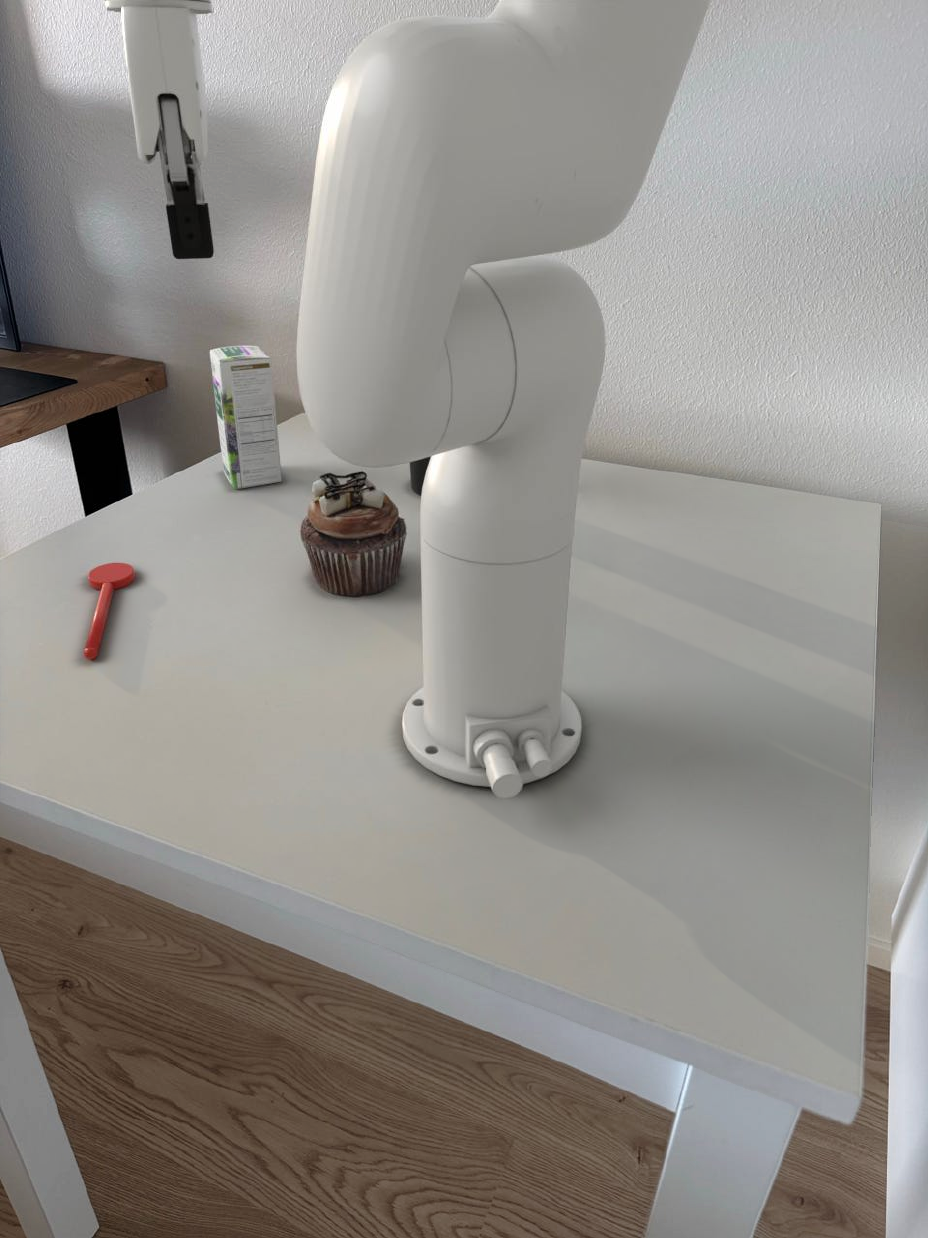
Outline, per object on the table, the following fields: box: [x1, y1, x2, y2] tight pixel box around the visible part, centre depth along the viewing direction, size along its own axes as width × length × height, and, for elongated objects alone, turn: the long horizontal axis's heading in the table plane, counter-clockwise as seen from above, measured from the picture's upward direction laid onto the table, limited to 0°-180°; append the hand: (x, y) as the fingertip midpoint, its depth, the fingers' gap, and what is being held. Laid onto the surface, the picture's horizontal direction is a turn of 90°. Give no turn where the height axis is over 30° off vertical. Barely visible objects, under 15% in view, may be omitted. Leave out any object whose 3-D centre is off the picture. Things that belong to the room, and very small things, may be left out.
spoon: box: [83, 562, 136, 660], centre depth 78 cm, size 16×4×1 cm, turn 12°
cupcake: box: [299, 470, 408, 598], centre depth 82 cm, size 10×10×10 cm
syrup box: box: [209, 345, 283, 490], centre depth 101 cm, size 6×6×14 cm
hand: (194, 256), depth 75 cm, fingers closed
